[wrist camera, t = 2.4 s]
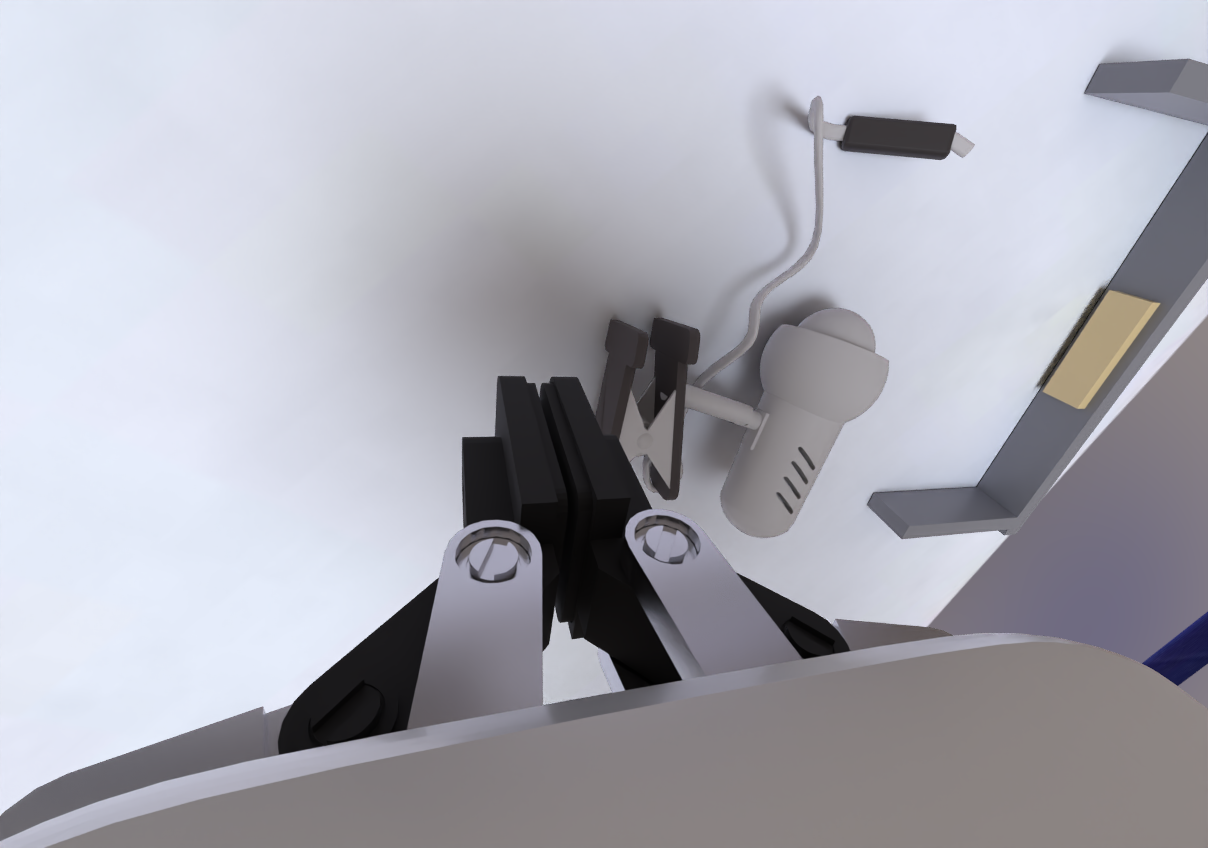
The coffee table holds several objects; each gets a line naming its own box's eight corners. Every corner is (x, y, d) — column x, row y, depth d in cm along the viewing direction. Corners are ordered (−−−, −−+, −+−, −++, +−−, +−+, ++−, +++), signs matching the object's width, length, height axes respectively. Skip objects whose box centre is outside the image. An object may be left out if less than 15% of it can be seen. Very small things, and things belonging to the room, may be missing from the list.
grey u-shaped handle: (976, 503, 35) (1015, 534, 32) (864, 511, 32) (897, 545, 30) (1251, 91, 23) (1348, 90, 20) (1108, 48, 20) (1199, 41, 17)
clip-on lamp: (704, 46, 19) (552, 467, 23) (805, -46, 13) (578, 538, 17) (920, 177, 23) (758, 520, 27) (1073, 150, 17) (838, 593, 21)
